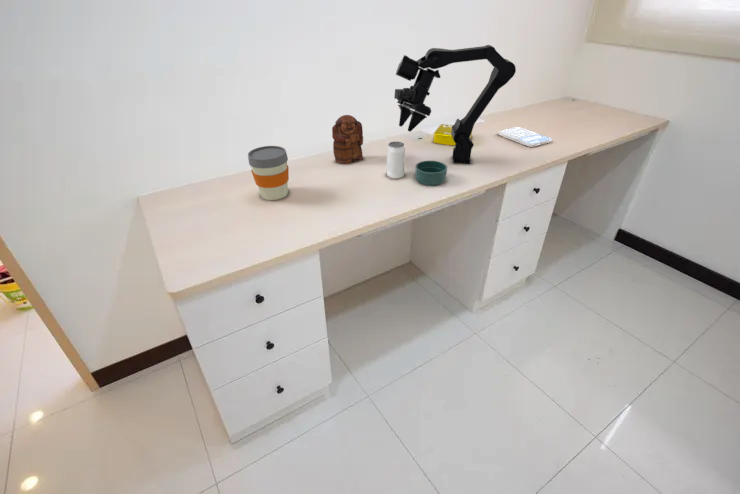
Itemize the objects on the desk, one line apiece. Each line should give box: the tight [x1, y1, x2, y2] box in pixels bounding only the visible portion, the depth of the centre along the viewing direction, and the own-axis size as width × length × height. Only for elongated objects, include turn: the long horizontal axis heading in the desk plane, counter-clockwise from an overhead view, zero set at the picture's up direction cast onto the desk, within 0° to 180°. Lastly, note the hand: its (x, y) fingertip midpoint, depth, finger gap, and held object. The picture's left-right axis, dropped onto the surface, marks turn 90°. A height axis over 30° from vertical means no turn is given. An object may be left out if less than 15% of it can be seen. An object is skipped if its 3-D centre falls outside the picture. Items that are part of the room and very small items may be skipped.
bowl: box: [414, 160, 448, 187], centre depth 135 cm, size 11×11×5 cm
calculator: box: [498, 126, 553, 148], centre depth 169 cm, size 13×20×2 cm, turn 29°
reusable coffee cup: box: [247, 145, 290, 201], centre depth 125 cm, size 12×13×15 cm
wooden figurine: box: [331, 114, 364, 165], centre depth 147 cm, size 12×6×18 cm, turn 120°
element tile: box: [433, 123, 473, 147], centre depth 168 cm, size 15×15×5 cm
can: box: [386, 141, 406, 180], centre depth 136 cm, size 6×6×12 cm
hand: (404, 128), depth 139 cm, fingers open, 9 cm apart
